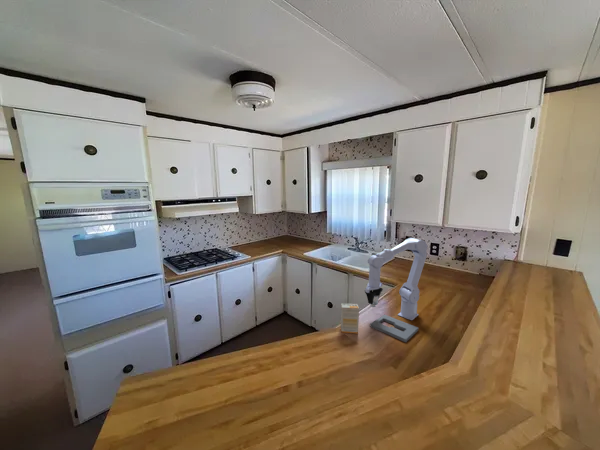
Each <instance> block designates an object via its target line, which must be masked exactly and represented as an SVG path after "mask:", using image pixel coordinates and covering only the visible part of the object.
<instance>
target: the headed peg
mask: <svg viewBox="0 0 600 450" xmlns="http://www.w3.org/2000/svg"><path fill="white" fill-rule="evenodd" d="M369 305H370V307H371V308H376V306H378V305H379V299H378V295H377V294H375V296H374V299H373V304H369Z"/></svg>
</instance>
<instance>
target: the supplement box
mask: <svg viewBox="0 0 600 450" xmlns="http://www.w3.org/2000/svg"><path fill="white" fill-rule="evenodd" d="M359 316H360V307H359V305H358V303H340V331H341V333H342V334H345V333H346V334H357V335H358V334H359V324H360V323H359V320H360V319H359V318H360V317H359Z"/></svg>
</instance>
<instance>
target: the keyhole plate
mask: <svg viewBox="0 0 600 450" xmlns="http://www.w3.org/2000/svg"><path fill="white" fill-rule="evenodd" d="M382 322H386V323H389V324H390V325H393V326H387V325H385V324H383V323H382ZM369 325H370V328H372V329H375V330H377V331H380V332H382V333H384V334H386V335H388V336H390V337H392V338H395V339H397V340H399V341H402V342H404V343H407V342H408V341H409V340H410V339H411V338H412V337H413V336H414V335H416V333H418V331H419V327H418V326H415V325H413V324H410V323H407V322H405V321H402V320H400V319H398V318H395V317H392V316H390V315H387V314H383V315H382V316H379V317H378V318H377V319H375V320H374V321H372V322H371V323H370V324H369Z"/></svg>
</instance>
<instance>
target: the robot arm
mask: <svg viewBox="0 0 600 450" xmlns="http://www.w3.org/2000/svg"><path fill="white" fill-rule="evenodd" d="M428 247H429V245H428V243H427V242H426V241H425V240H423V239H418V238H414V237H408V238H406V239H405V240H404V241H403V242H401V243H399V244H398V245H395V246H394V247H393V248H391V249H390V248H387V249H386V248H384V249H383V250H382V251H381V252H378V253H376V254H373V255H371V256H369V258H368V259H367V263H368V265H369V266H368V267H369V268H368V283H367V284H366V288H365V289H364V293H365V295H366V298H367V304H369V305H370V304H373V299H374V296H375V294H377V295H378V300H379V299H380V295H381V294H382V292H383V290H384V288H382V287H383V282H381V269H382V267H383V266H384V264H385V263H387V262H389V261H391V260H392V259H394V257H395V256H396V255H397V254H400V253H402V252H404V251H406V250H407V251H408V250H409V251H410V252H412V254H413V256H414V258H413V261H412V264H411V268H410V271H409V274H408V278H407V281H406V282H404V283H402V286H401V287H400V289H399V291H398V292H399V295H400V298H401V304H400V312H399V313H398V314H397V316H399V317H402V318H405V319H407V320H410V321H413V320H415V318H417V317H418V316H419V313H418V301H419V300H420V289H419V287H418V284H419V281H420V279H421V275H422V271H423V269H424V266H425V263H426V260H427V255H428V254H427V253H428V252H427V251H428Z"/></svg>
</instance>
